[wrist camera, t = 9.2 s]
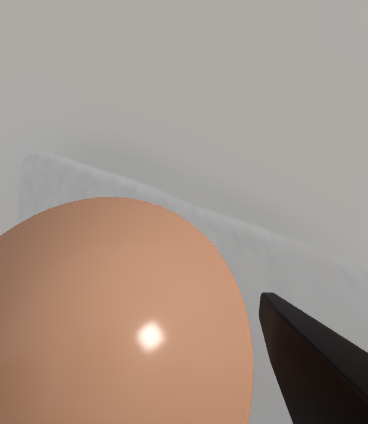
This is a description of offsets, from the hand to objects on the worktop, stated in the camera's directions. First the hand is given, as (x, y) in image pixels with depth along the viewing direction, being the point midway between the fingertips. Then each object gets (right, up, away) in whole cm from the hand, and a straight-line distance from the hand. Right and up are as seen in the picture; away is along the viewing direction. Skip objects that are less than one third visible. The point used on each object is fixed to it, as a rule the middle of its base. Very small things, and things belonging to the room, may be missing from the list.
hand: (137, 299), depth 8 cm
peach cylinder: (0, -5, +6) cm, 8 cm away
